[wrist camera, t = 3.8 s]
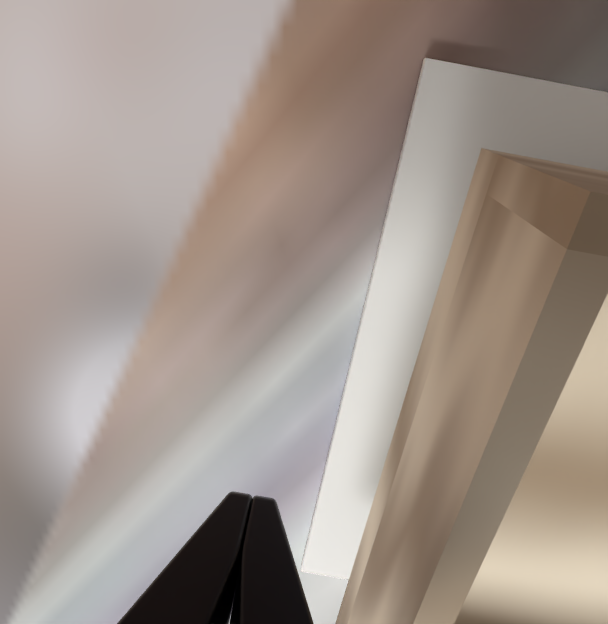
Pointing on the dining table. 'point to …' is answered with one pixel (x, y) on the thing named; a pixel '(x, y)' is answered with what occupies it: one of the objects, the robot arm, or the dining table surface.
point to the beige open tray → (502, 419)
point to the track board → (431, 262)
